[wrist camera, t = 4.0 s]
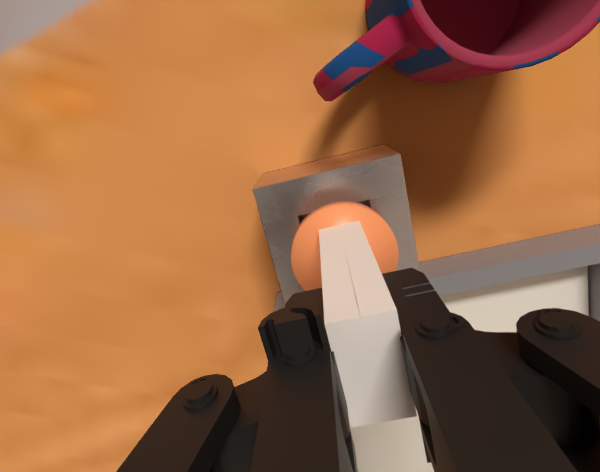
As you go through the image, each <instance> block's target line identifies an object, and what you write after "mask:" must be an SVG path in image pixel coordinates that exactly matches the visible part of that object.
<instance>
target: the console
mask: <svg viewBox="0 0 600 472" xmlns="http://www.w3.org/2000/svg"><path fill="white" fill-rule="evenodd" d="M253 192H254V196H255V199H256V203H257V206H258V210H259V214H260V217H261V221H262V224H263V228H264V231H265V235H266V238H267V242H268V245H269V249H270V252H271V256H272V259H273V263H274V266H275V270H276V273H277V277H278V281H279V284H280V288H281V291H282V295H283V298H284V302H285V304H286V302H287V301H288V300H289V298H290V297H291V296H292V295H293V294H294V293H299V292H304V291H305V290H304V289H303V288H302V287H301V285H300V284H299V283H298V281H297V279H296V277H295V275H294V272H293V269H292V264H291V251H292V243H293V239H294V235H295V233H296V230H297V228H298V227H299V225H300V223H301V222H302V221H303V219H304V218H305V217H306V216H307V215H308V214H310V213H311V212H312V211H313V210H315V209H317V208H318V207H320V206H323V205H325V204H328V203H331V202H337V201H352V202H357V203H361V204H363V205H366V206H368V207H370V208H372V209H373V210H375V211H376V212H377V213H379V214H380V215H381V216H382V217H383V219H384V220H385V221H386V222H387V224H388V225H389V227H390V228H391V230H392V232H393V234H394V236H395V238H396V241H397V245H398V251H399V258H398V265H397V269H396V271H398V270H402V269H407V268H414V269H416V270H418V271H420V269H419V263H418V257H417V251H416V245H415V239H414V232H413V226H412V220H411V214H410V208H409V202H408V196H407V190H406V184H405V178H404V172H403V166H402V159H401V154H400V153H398V152H396V151H394V150H392V149H390V148H389V147H387V146H385V145H378V146H374V147H370V148H366V149H362V150H358V151H354V152H350V153H345V154H341V155H337V156H333V157H329V158H325V159H321V160H317V161H312V162H308V163H304V164H300V165H296V166H292V167H288V168H284V169H279V170H275V171H271V172H267V173H264V174H263V175H262V176H261V178H260V179H259V181H258V182H257V184H256V185H255V186H254V188H253Z"/></svg>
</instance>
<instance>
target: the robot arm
mask: <svg viewBox="0 0 600 472" xmlns="http://www.w3.org/2000/svg"><path fill="white" fill-rule="evenodd" d="M319 243H320V259H321V276H322V288H318V289H313V290H309V291H304V292H299V293H294V294H293V295H292V296H291V297H290V298H289V300H288V301H287V302H286V304H285V308H282V309H279V310H277V311H275V312H273V313H271V314H269V315H268V316H267V317H266V318H264V319H263V320H262V321H261V323H260V325H259V327H258V330H259V333H260V336H261V339H262V342H263V346H264V349H265V352H266V355H267V358H268V367H267V371H266V372H265V373H263V374H262V375H260V376H259V377H257V378H255V379H253V380H251V381H248V382H246V383H243V384H241V385H239V386H236V387H234V385H233V383H232V380H231V379H230V378H228V377H227V376H225V375H219V374H213V375H207V376H203V377H200V378H197V379H195V380H193V381H191V382H190V383H188V384H187V385H185V386H184V387H182V388H181V389H180V390H179V391H178V392H177V393H176V394H175V395H174V396H173V397H172V399H171V400H170V401H169V403H168V404H167V405H166V407H165V408H164V409H163V411H162V412H161V413H160V415H159V416H158V417H157V419H156V420H155V421H154V423H153V424H152V425H151V426H150V428H149V429H148V430H147V432H146V433H145V434H144V436H143V437H142V438H141V440H140V441H139V442H138V444H137V445H136V446H135V448H134V449H133V450H132V452H131V453H130V454H129V456H128V457H127V458H126V460H125V461H124V462H123V464H122V465H121V466H120V468H119V469H118V470H117V472H358V469H357V461H356V454H355V446H354V443H353V439H352V435H351V431H350V426H351V428H352V427H357V426H363V425H369V424H375V423H381V422H386V421H392V420H398V419H404V418H409V417H415V416H417V414H416V410H417V413H418V416H419V421H420V427H421V432H422V437H423V443H424V448H425V453H426V459H427V463H430V462H431V463H432V466H433V469H434V472H600V321H598V320H596V319H594V318H592V317H590V316H587V315H585V314H582V313H579V312H576V311H572V310H566V309H560V308H552V309H550V308H545V309H539V310H535V311H530V312H528V313H526V314H524V315H523V316H521V317H520V318H519V320H518V321H517V323H516V330H517V332H485V331H479V330H474V328H473V327H472V326H471V324H470V323H469V322H468V321H467V320H466V319H465V318H464V317H462V316H460V315H457V314H455V313H452V312H450V311H449V310H448V308H447V307H446V305H445V304H444V302H443V301H442V299H441V298H440V297H439V295H438V294H437V292H436V291H435V290H434V288H433V286H432V285H431V283H430V282H429V280H428V279H427V277H426V276H425V274H424V273H422V272H420V271H418V270H416V269H414V268H407V269H402V270H398V271H393V272H388V273H383V274H382V273H381V271H380V269H379V266H378V264H377V261H376V259H375V257H374V254H373V252H372V250H371V247H370V245H369V242H368V240H367V238H366V235H365V233H364V230H363V228H362V226H361V223H360V221H355V222H350V223H346V224H341V225H337V226H333V227H328V228H324V229H319ZM415 407H416V409H415ZM349 422H350V425H349Z"/></svg>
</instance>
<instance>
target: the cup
mask: <svg viewBox="0 0 600 472" xmlns="http://www.w3.org/2000/svg"><path fill="white" fill-rule="evenodd" d="M366 17H367V24H368V28H369V31H368V32H367V33H366V34H364V35H363V36H362V37H361V38H359V39H358V40H357V41H355V42H354V43H353V44H352V45H350V46H349V47H348V48H346V49H345V50H344V51H343V52H341V53H340V54H339V55H338V56H336V57H335V58H334V59H333V60H332V61H330V62H329V63H328V64H327V65H326V66H325V67H323V68H322V69H321V70H320V71H319V72H318V73H317V74H316V76H315V78H314V81H313V83H314V86H315V88H316V90H317V92H318V94H319V95H320V96H321V97H322V98H323V99H324V100H325V101H333V100H334V99H336V98H337V97H339V96H340V95H342V94H343V93H344V92H346V91H347V90H349V89H350V88H351V87H353V86H354V85H356V84H357V83H358V82H360V81H361V80H362V79H364V78H365V77H367V76H368V75H369V74H371V73H372V72H373V71H375V70H376V69H377V68H379V67H380V66H382V65H383V64H384V63H386V62H387V63H388V64H389V65H390V66H392V67H393V68H394V69H395V70H396V71H398V72H400V73H401V74H403V75H404V76H406V77H409V78H412V79H414V80H417V81H422V82H428V83H443V82H449V81H454V80H460V79H465V78H471V77H476V76H482V75H487V74H492V73H498V72H503V71H509V70H514V69H519V68H524V67H530V66H533V65H536V64H538V63H541V62H544V61H546V60H549V59H552V58H553V57H555V56H557V55H559V54H560V53H562V52H564V51H566V50H567V49H569V48H571V47H572V46H573V45H575V44H576V43H577V42H578V41H580V40H581V39H582V38H583V37H585V36H586V35H587V34H588V33H590V31H591V30H592V29H593V28H594V27H595V26H596V25H597V24H598V23H599V22H600V0H366Z"/></svg>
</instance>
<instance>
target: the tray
mask: <svg viewBox="0 0 600 472" xmlns="http://www.w3.org/2000/svg"><path fill="white" fill-rule="evenodd" d="M419 269H420V272H422V273H424V274H425V276H426V277H427V279H428V280H429V282H430V283H431V285H432V286H433V288H434V290H435V291H436V292H437V294H438V295H439V297H440V298H441V299H442V301H443V302H444V304H445V305H446V307H447V308H448V310H449V311H450V312H452V313H455V314H457V315H460V316H462V317H464V318H465V319H466V320H467V321H468V322H469V323H470V324H471V326H472V327H473V328H474V330H479V331H485V332H517V330H516V323H517V321H518V320H519V318H520V317H521V316H523V315H524V314H526V313H528V312H530V311H535V310H539V309H545V308H550V309H552V308H560V309H566V310H572V311H576V312H579V313H582V314H585V315H587V316H590V317H592V318H594V319H596V320H598V321H600V224H598V225H594V226H589V227H584V228H580V229H575V230H570V231H565V232H561V233H556V234H551V235H546V236H542V237H537V238H532V239H528V240H523V241H518V242H513V243H509V244H504V245H499V246H494V247H490V248H485V249H480V250H475V251H471V252H466V253H461V254H457V255H452V256H447V257H442V258H438V259H433V260H428V261H423V262H419ZM282 308H285V302H284V298H283V295H282V292H277V297H276V303H275V309H274V312H275V311H277V310H279V309H282ZM415 409H416V407H415ZM416 414H417V416H415V417H409V418H404V419H398V420H392V421H386V422H381V423H375V424H369V425H363V426H357V427H352V428H351V426H350V431H351V435H352V439H353V443H354V446H355V454H356V461H357V469H358V472H434V469H433V466H432V463H431V462H430V463H427V459H426V453H425V448H424V443H423V437H422V432H421V427H420V421H419V416H418V413H417V410H416ZM349 425H350V422H349Z"/></svg>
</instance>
